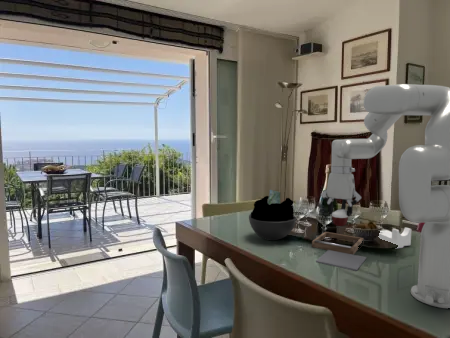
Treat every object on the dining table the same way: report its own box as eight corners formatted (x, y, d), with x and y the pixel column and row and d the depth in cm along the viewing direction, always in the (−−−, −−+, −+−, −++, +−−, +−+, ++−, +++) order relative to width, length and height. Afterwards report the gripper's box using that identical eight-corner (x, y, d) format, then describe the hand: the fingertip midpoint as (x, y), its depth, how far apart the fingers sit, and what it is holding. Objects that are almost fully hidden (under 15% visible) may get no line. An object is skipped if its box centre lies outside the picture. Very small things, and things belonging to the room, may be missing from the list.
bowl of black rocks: (239, 238, 150) (239, 195, 148) (270, 230, 163) (271, 190, 161) (273, 250, 135) (274, 202, 133) (304, 240, 147) (306, 196, 145)
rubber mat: (356, 270, 114) (356, 269, 114) (315, 262, 122) (315, 260, 122) (366, 258, 126) (366, 257, 126) (328, 251, 134) (328, 249, 134)
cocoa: (336, 228, 134) (337, 198, 133) (326, 224, 140) (326, 195, 138) (355, 225, 138) (355, 196, 137) (343, 221, 144) (344, 193, 142)
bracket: (410, 247, 140) (411, 229, 139) (396, 249, 138) (397, 230, 137) (386, 238, 152) (387, 221, 151) (373, 239, 150) (374, 222, 149)
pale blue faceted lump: (243, 216, 190) (250, 185, 191) (274, 222, 197) (280, 191, 198) (258, 223, 173) (265, 188, 174) (291, 229, 180) (298, 195, 181)
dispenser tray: (353, 255, 130) (353, 247, 129) (311, 246, 138) (312, 239, 138) (363, 243, 143) (363, 237, 142) (324, 237, 152) (325, 230, 151)
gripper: (366, 170, 135) (364, 215, 137) (322, 168, 145) (321, 210, 147) (361, 172, 129) (360, 219, 131) (316, 170, 139) (315, 213, 141)
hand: (339, 214), depth 139 cm, fingers closed on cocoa, 6 cm apart
